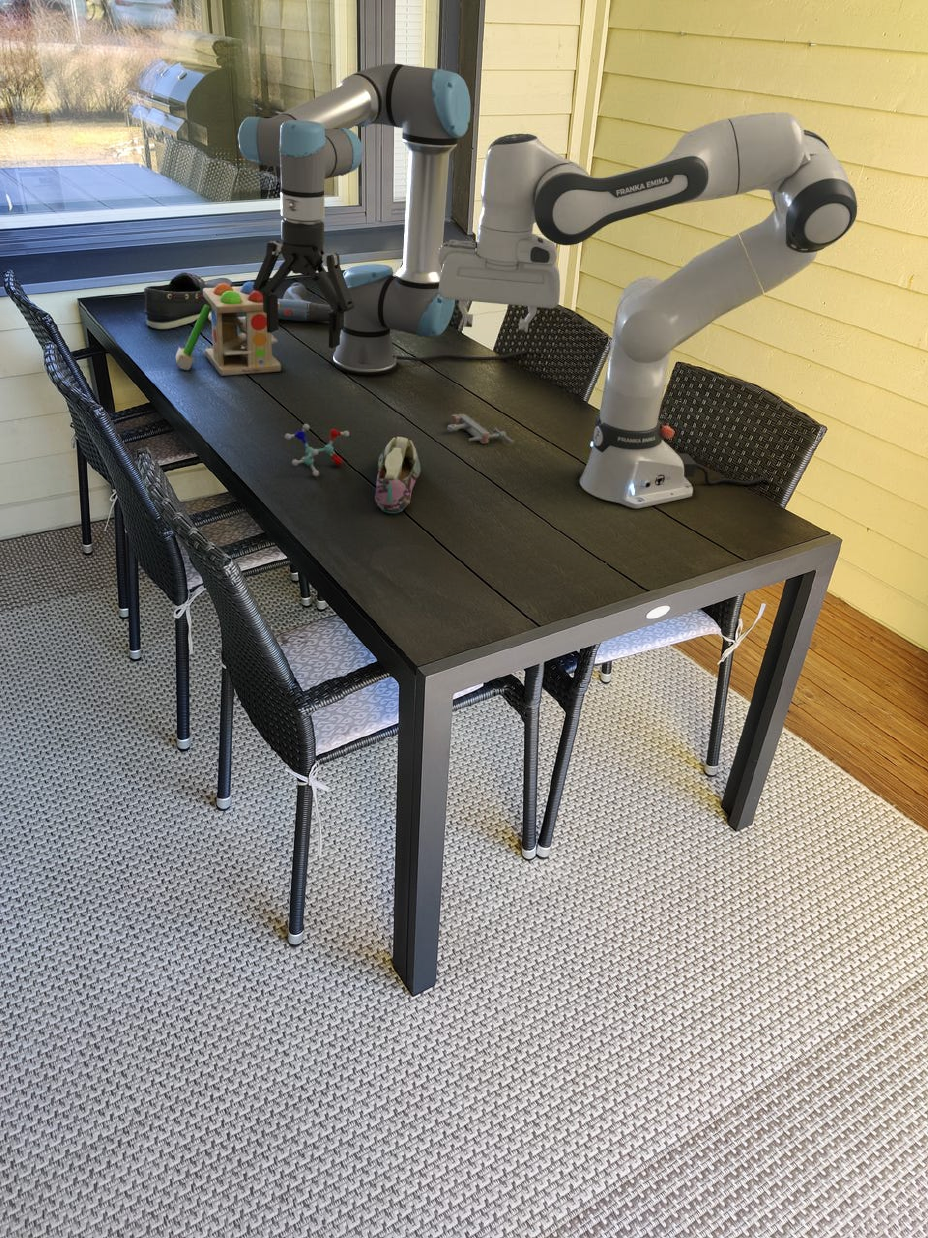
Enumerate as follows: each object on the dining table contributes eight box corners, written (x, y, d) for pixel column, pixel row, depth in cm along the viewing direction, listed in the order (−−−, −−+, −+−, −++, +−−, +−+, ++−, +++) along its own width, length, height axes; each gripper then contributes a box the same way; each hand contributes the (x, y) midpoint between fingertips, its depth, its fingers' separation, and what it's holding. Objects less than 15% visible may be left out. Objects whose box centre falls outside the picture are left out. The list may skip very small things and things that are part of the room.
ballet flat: (423, 461, 196) (425, 420, 192) (413, 518, 176) (415, 475, 171) (381, 457, 196) (383, 416, 191) (366, 514, 176) (368, 470, 171)
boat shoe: (255, 307, 269) (253, 268, 263) (164, 331, 245) (159, 289, 239) (221, 298, 274) (218, 260, 269) (128, 321, 250) (123, 279, 245)
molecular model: (334, 468, 182) (316, 416, 180) (292, 484, 185) (274, 433, 184) (360, 462, 192) (343, 413, 191) (320, 477, 196) (303, 429, 194)
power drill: (344, 304, 276) (335, 327, 259) (277, 298, 275) (264, 321, 258) (344, 285, 273) (335, 306, 256) (277, 279, 272) (264, 300, 255)
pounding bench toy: (183, 379, 220) (176, 299, 210) (169, 357, 231) (162, 280, 221) (282, 371, 230) (280, 294, 220) (264, 350, 240) (262, 276, 230)
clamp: (439, 415, 210) (479, 410, 214) (438, 425, 211) (478, 419, 216) (475, 444, 199) (516, 437, 204) (474, 454, 201) (515, 447, 205)
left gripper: (230, 210, 173) (235, 329, 185) (353, 235, 166) (350, 358, 178) (255, 204, 179) (259, 319, 191) (375, 228, 172) (371, 347, 183)
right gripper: (438, 242, 156) (433, 328, 164) (566, 254, 157) (554, 339, 164) (441, 233, 161) (435, 317, 169) (564, 245, 162) (553, 328, 170)
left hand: (303, 338), depth 184 cm, fingers open, 13 cm apart
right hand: (495, 328), depth 167 cm, fingers open, 8 cm apart
